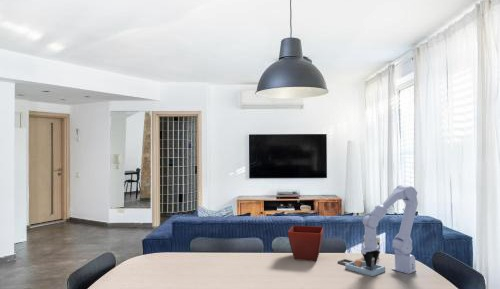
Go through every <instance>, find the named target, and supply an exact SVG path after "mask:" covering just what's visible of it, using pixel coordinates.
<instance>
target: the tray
mask: <svg viewBox="0 0 500 289" xmlns="http://www.w3.org/2000/svg"><path fill="white" fill-rule="evenodd" d="M352 261H353V262H346V263H347V264H345V265H344V267H345V270H348V271H353V272H354V273H359V274H363V275H365V276H368V277H369V276H370V277H375V276H377V275H380V274H382V273H385V272H386V266H384V265H380V264H377V263H376V265H374V270H372V271H371V270H368V269H366V262H365V260H361V261H362V262H363V266H362V267H361V268H360V267H357V266H355V265H354V262H355V260H352Z"/></svg>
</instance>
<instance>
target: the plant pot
mask: <svg viewBox="0 0 500 289" xmlns="http://www.w3.org/2000/svg"><path fill="white" fill-rule="evenodd" d="M323 235H324V226H311V225H310V226H309V225H292V226H291V227H290V229H288V230H287V236H288V241H289V242H288V243H289V246H290V249H291V252H292V253H291V254H292V256H293V259H294V260H296V261H312V262H316V261H318V258H319V255H320V252H321V248H322V244H323V243H322V242H323V237H324V236H323Z"/></svg>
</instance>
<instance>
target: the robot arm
mask: <svg viewBox="0 0 500 289" xmlns="http://www.w3.org/2000/svg"><path fill="white" fill-rule="evenodd" d="M417 195H418V191H417V190H416V188H415V187H414V186H411V185H410V186H408V185H402V184H399V185H397V186H396V188H393V191H392V193H391V194H389V196H388V197H387V198H386V199H385V200H384V202H382V204H379V205H376V206H374V209H372V210H371V211H370V212H369V213H368V215H365V216H364V217H363V218H362V221H361V222H362V224H363V225H364V235H365V246H364V245H363V248H362V249H360V252H361V255H362V256H363V260H364V261H365V262H366V266H368V267H371V261H372V257H375V260H374V265H376V264H377V261H378V259H379V258H378V256H379V257H380V253H381V251H380V250H381V245H380V246H379V245H377V240H376V235H377V227H378V226H379V222H380V221H381V220H382V219H383V218H384V217H385V215H387V214H388V210H389V208H391V207H392V206H393V205H394V204H395V203H396V202H397V201H398V200H399V201H400V200H402V201H403V203H404V204H405V206H404V211H403V215H402V219H401V222H400V226H399V230H398V233H397V234H396V235H395V236H394V238H393V240H392V242H391V247H392V249H394V250H393V251H394V267H392V268H391V270H392V271H396V272H400V273H405V274H408V275H409V274H412V273H415V272H417V269H416V257H415V255H414V254H413V255H412V254H411V252H412V251H413V240H412V238H411V233H412V228H413V225H414V221H415V217H416V212H417V210H418V209H417V208H418V203H419V202H418V196H417ZM377 250H379V251H377Z"/></svg>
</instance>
